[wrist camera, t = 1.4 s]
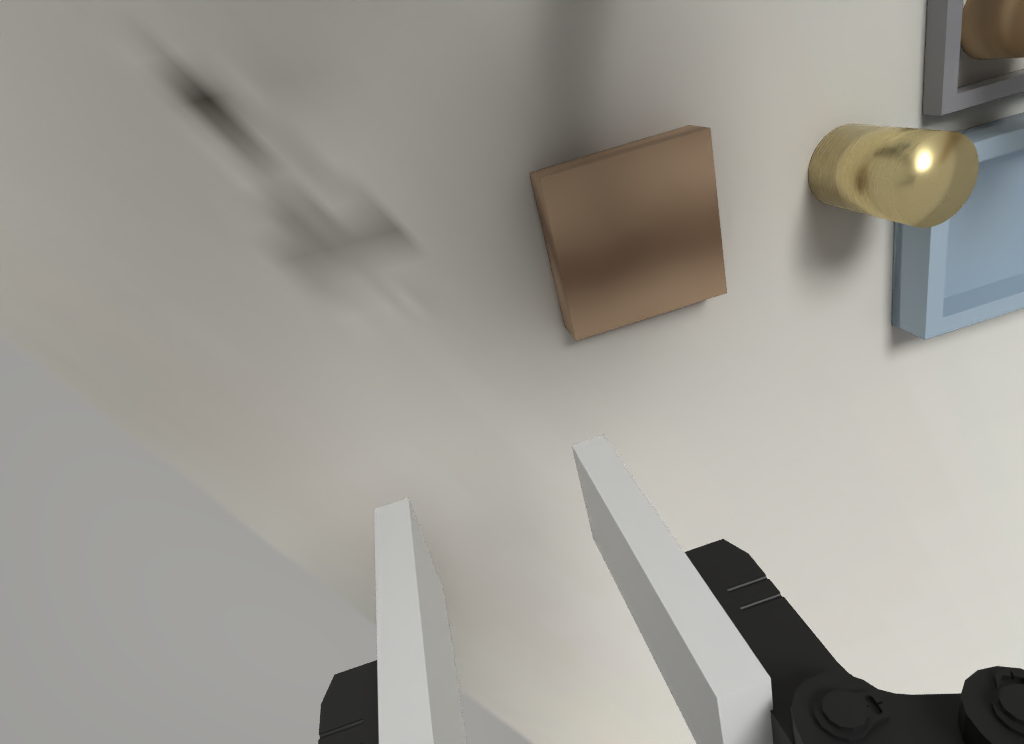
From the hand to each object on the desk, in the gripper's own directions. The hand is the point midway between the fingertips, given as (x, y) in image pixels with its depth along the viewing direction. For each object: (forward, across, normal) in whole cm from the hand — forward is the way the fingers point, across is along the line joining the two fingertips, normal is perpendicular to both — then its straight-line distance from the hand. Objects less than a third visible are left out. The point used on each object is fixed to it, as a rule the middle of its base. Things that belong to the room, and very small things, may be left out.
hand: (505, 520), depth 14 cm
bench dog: (+19, +22, 0) cm, 29 cm away
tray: (+19, +30, -5) cm, 36 cm away
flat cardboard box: (+19, +10, 0) cm, 22 cm away
